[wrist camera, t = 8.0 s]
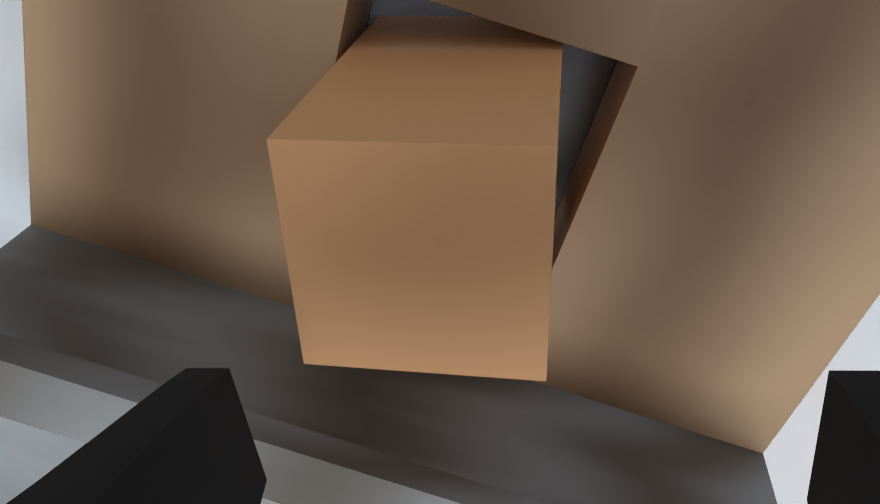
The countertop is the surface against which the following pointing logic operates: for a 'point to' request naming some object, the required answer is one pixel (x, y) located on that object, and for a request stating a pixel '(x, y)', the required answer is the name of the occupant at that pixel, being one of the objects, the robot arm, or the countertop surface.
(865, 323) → the countertop surface
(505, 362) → the peg
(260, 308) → the socket block
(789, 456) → the countertop surface
